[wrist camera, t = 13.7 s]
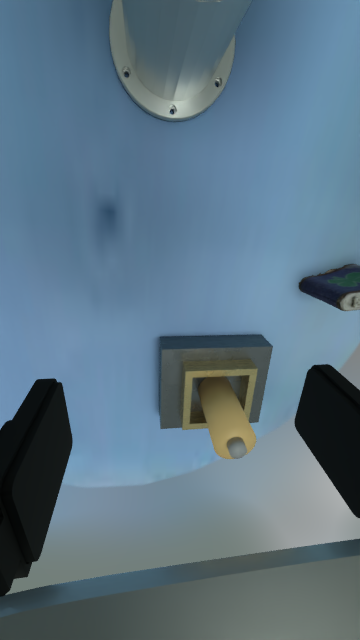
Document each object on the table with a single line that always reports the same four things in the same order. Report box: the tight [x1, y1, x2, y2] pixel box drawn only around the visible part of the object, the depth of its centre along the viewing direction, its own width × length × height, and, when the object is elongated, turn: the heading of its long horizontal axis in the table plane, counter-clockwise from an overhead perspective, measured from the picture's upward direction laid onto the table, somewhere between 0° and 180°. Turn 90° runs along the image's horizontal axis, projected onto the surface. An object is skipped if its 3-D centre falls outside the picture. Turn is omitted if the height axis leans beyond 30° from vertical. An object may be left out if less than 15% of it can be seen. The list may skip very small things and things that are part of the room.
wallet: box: [299, 264, 360, 311], centre depth 35 cm, size 9×3×11 cm, turn 105°
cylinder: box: [198, 376, 256, 459], centre depth 34 cm, size 5×5×11 cm
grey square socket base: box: [159, 335, 273, 430], centre depth 40 cm, size 14×16×6 cm
